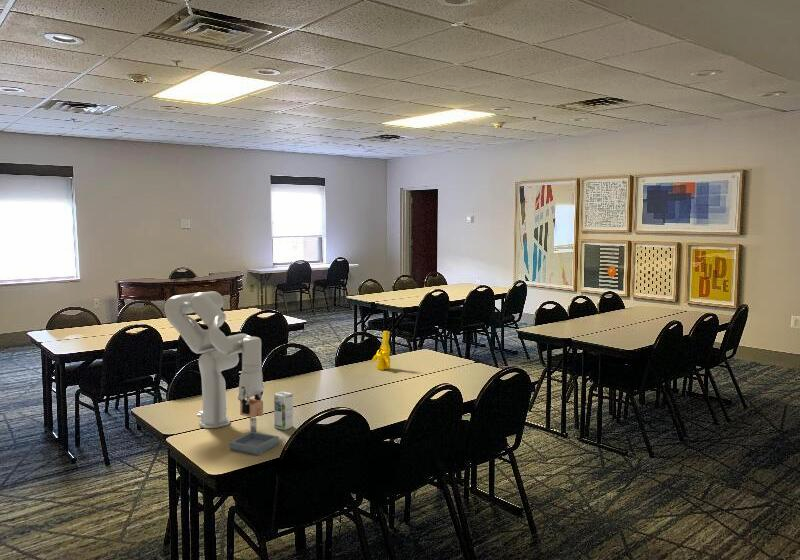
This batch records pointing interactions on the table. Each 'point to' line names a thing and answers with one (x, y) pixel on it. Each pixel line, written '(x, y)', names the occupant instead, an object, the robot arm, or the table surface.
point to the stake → (253, 425)
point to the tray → (254, 443)
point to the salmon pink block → (253, 408)
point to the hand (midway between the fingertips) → (251, 410)
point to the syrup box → (283, 410)
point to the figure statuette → (383, 353)
